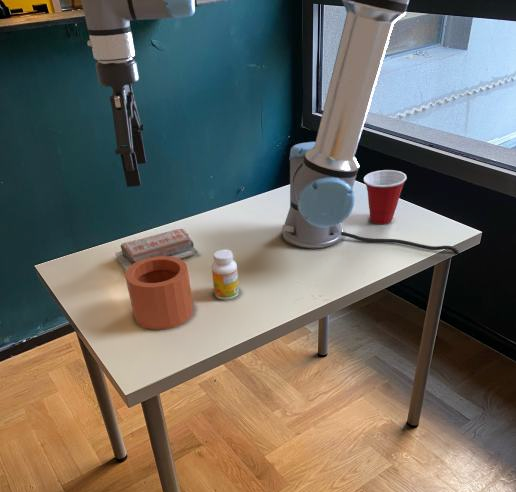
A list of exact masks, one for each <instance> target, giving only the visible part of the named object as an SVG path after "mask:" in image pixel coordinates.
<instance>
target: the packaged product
mask: <svg viewBox="0 0 516 492" xmlns="http://www.w3.org/2000/svg"><path fill="white" fill-rule="evenodd" d="M120 249H121V251H120V250H119V251H116V252H115V254H114V255H115V256H116V258H117V260H118V261H119V263H120V264H121V266H122V267H123V269H124V270H125V272H126V271H127V269H128V268H129V267H130V266H131V265H133V264H134V263H136V262H138V261H140V260H143V259H146V258H150V257H157V256H170V257H175V258H178V259H180V260H183V259H185V258H189V257H191V256H195V255H198V253H199V251H198V250H197V249H196V248H195V247H194V241H193V239H192V237H191V236H190V234H188V233H187V231H186V230H185V229H184V228H177V229H174V230H169V231H165V232H161V233H157V234H154V235H150V236H147V237H143V238H139V239H135V240H131V241H127V242H123V243H121V244H120Z"/></svg>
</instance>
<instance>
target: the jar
mask: <svg viewBox="0 0 516 492" xmlns="http://www.w3.org/2000/svg"><path fill="white" fill-rule="evenodd" d="M124 276H125V277H124V279H125V282H126V287H127V291H128V295H129V300H130V305H131V309H132V313H133V317H134V320H135V321H136V323H137V324H138V325H139V326H140V327H142V328H144V329H148V330H154V331H155V330H156V331H157V330H158V331H162V330H169V329H173V328H176V327H179V326H181V325H183V324H184V323H186V322H188V321H189V319H191V317H192V316H193V313H194V304H193V303H194V302H193V296H192V288H191V282H190V275H189V268H188V264H187V263H186V262H185V261H184V260H183V259H178V258H175V257H170V256H157V257H150V258H146V259H143V260H140V261H138V262H136V263H134V264H133V265H131V266H130V267H129V268H128V269H127V271H126V270H125V273H124Z"/></svg>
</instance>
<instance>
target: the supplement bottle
mask: <svg viewBox="0 0 516 492" xmlns="http://www.w3.org/2000/svg"><path fill="white" fill-rule="evenodd" d="M211 274H212V283H213V293H214V297H216V298H217V299H219V300H223V301H225V300H226V301H227V300H232V299H234V298H236V297H237V296H238V295H239V291H240V288H239V286H240V285H239V275H238V264H237V262H236V260H234V254H233V251H231V250H230V249H219V250H216V251H215V252H214V253H213V262H212V264H211Z"/></svg>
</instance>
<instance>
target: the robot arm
mask: <svg viewBox="0 0 516 492" xmlns="http://www.w3.org/2000/svg"><path fill="white" fill-rule="evenodd" d="M234 1H236V0H80V2H81V6H82V10H83V14H84V19H85V23H86V28H87V32H88V35H89V40H87V43H86V44H87V46H88V47H90V48H91V50H92V56H93V59H94V60H96V61H97V62H96V63H95V64H94V65H95V70H96V71H95V72H96V74H97V79H98V83H99V85H101V86H102V87H107V88H108V87H109V88H111V89H112V95H110V96H109V101H110V107H111V112H112V119H113V127H114V134H115V140H116V141H115V142H116V149H115V150H114V151H115V152H114V153H115V155H120V158H121V159H120V160H121V164H122V169H123V173H124V178H125V183H126V187H127V188H131V187H141V186H142V182H141V181H142V180H141V175H140V171H139V166H138V165H143V164H147V156H146V151H145V146H144V140H143V135H142V131H145V126H144V124H142V120H141V118H140V115H139V111H138V107H137V102H136V99H135V94H134V91H133V85H134V84H137V83H139V80H140V75H139V69H138V63H137V61H136V59H135V58H134V57H135V56H136V50H135V44H134V38H133V37H134V36H133V32H132V29H131V24H130V23H131V22H130V21H139V20H141V21H143V20H164V19H165V20H166V19H174V20H178V19H182V18H189V17H192V16H194V14H195V12H196V8H198V7H205V6H210V5H216V4H223V3H228V2H234ZM341 2H342V4H343V6H344V8H345V12H346V16H345V19H344V24H343V28H342V32H341V37H340V41H339V44H338V49H337V51H336V57H335V60H334V65H333V69H332V73H331V78H330V82H329V85H328V90H327V93H326V98H325V102H324V106H323V110H322V114H321V117H320V123H319V127H318V130H317V135H316V138H315V141H308V142H302V143H301V142H300V143H297V144H294V145H293V146H292V147H291V148H290V151H289V158H288V161H289V209H288V212H287V214H286V218H285V221H284V223H283V224H282V237H283V239H284V241H285V242H286V243H289V244H290V245H292V246H294V247H298V248H303V249H323V248H327V247H332V246H334V245H336V244H337V243H339V242H340V241H341V240H342V238H343V237H347V238H351V239H354V240H357V241H361V242H367V243H390V244H391V243H392V244H401V245H405V246H411V247H415V248H419V249H424V250H428V251H429V250H430V251H443V250H449V251H452V252H453V253H454V254H456V255H459V254H461V253H460V251H459V250H458V248H456V247H455V246H452V245H435V246H434V245H427V244H423V243H417V242H414V241H409V240H404V239H399V238H398V239H396V238H372V237H363V236H360V235H357V234H353V233H349V232H345V231H343V225H342V223H343V222H345V220H346V219H347V218H348V217H349V216H350V215H351V213H352V211H353V209H354V207H355V206H354V205H355V192H354V190H353V188H354V185H355V182H356V178H357V176H358V175H357V174H358V172H359V169H360V164H359V163H358V161H357V158H356V153H357V150H358V146H359V142H360V140H361V135H362V133H363V129H364V125H365V122H366V119H367V115H368V112H369V109H370V106H371V102H372V97H373V94H374V91H375V87H376V85H377V81H378V77H379V75H380V71H381V67H382V64H383V62H384V61H383V60H384V58H385V54H386V50H387V48H388V45H389V40H390V36H391V33H392V30H393V27H394V24H395V23H396V22H397V21H398V20H400V19H401V18H402V17H404V16H405V15H406V13H407V10H408V6H409V2H410V0H341Z"/></svg>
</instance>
